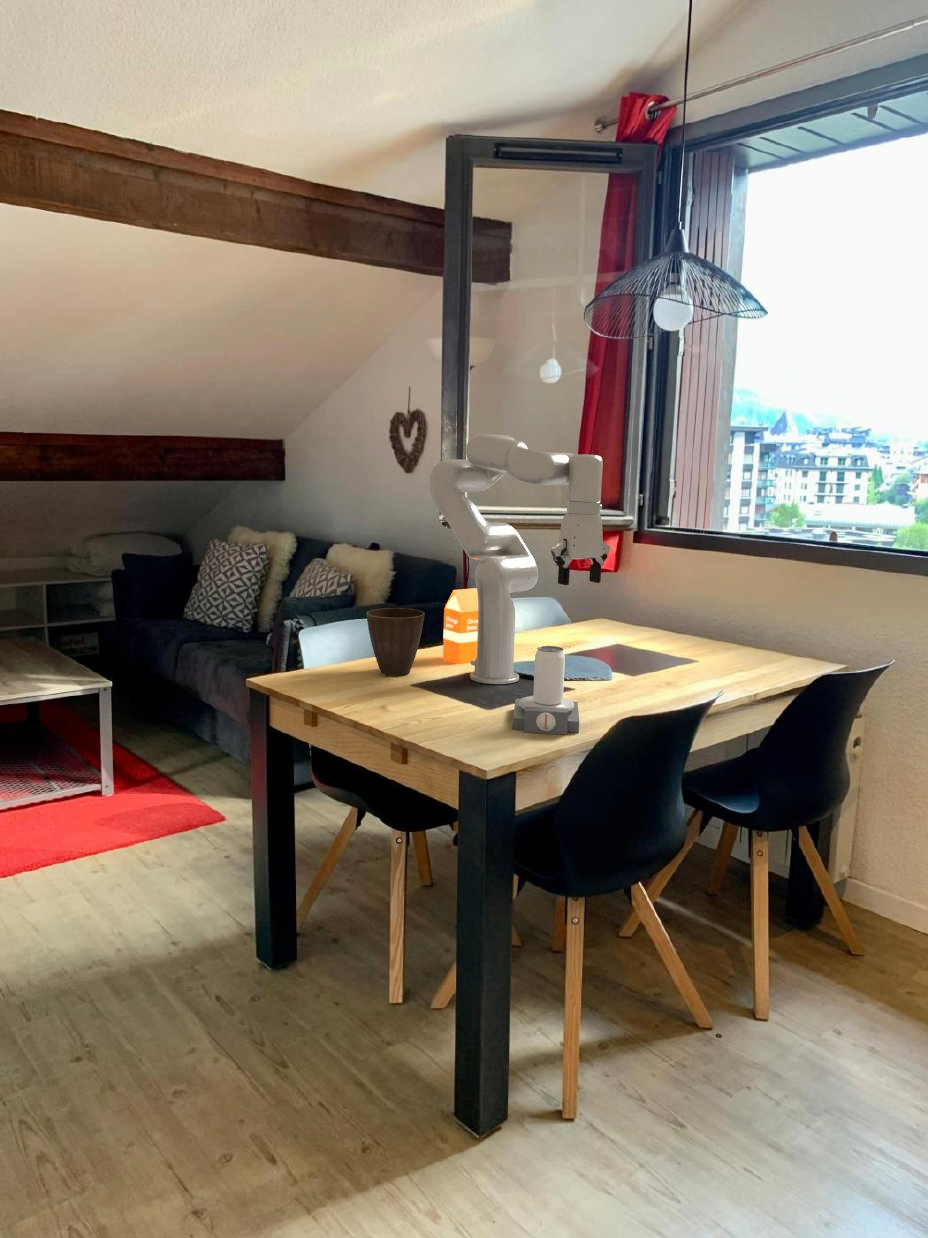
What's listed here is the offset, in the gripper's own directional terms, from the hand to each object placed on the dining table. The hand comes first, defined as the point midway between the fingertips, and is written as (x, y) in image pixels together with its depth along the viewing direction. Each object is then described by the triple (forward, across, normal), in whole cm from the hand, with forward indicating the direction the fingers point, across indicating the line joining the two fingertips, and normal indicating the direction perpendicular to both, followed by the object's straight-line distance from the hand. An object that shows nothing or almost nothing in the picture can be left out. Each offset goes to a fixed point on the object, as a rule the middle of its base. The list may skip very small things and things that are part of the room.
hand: (579, 583), depth 220 cm
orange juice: (+29, -2, -48) cm, 56 cm away
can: (+24, +16, +10) cm, 31 cm away
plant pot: (+29, +23, -44) cm, 57 cm away
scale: (+28, +17, +11) cm, 35 cm away
